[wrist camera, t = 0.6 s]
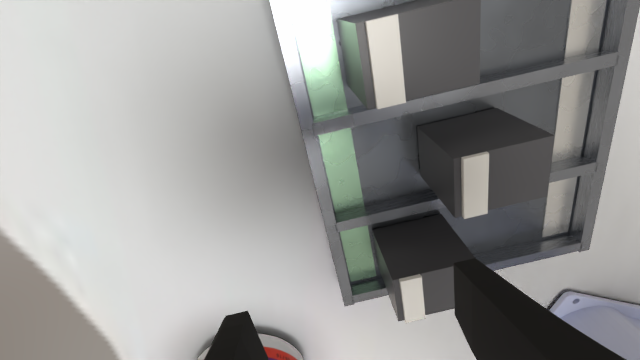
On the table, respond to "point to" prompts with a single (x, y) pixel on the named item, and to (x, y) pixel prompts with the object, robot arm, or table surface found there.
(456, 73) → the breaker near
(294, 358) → the pill bottle
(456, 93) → the panel
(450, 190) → the block
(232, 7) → the table surface
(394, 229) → the breaker far
